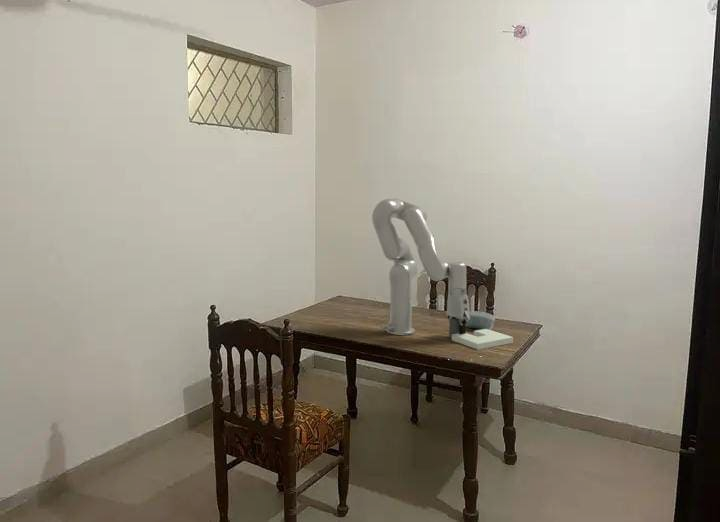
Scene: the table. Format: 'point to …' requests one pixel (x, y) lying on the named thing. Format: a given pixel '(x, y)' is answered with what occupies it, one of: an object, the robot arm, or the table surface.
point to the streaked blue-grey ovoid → (480, 320)
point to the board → (482, 339)
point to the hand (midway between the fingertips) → (457, 332)
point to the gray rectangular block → (454, 327)
